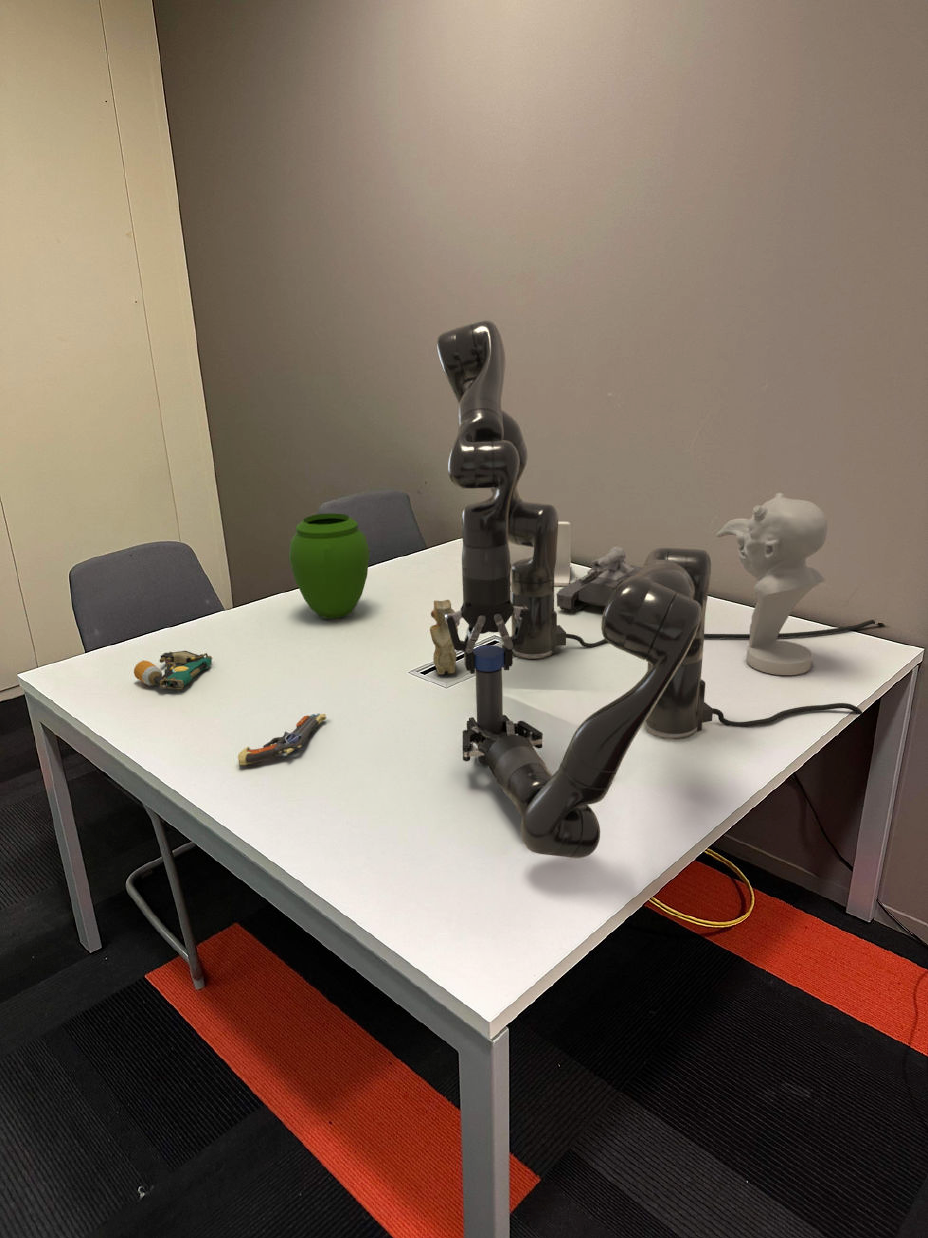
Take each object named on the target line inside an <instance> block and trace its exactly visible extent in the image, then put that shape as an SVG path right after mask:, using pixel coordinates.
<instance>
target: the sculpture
mask: <svg viewBox="0 0 928 1238" xmlns="http://www.w3.org/2000/svg"><path fill="white" fill-rule="evenodd" d="M446 612H450V613H454V612H455V609H453V608H452V602H451V601H450V599H445V600H433V610H431V612H430V617H431V618H432V619H433V620H434V621H435V622H436V623H435V624H433V625H431V626H429V633H430V636H431V640H432V641H431V642H432V643H433V645H434V648H435V649H434V652H433V656H432V657H433V659H432V660H433V665H434V667H435V668H436V671H437V674H438V675H445V674H446V672H447V673H448V674H455V673H456V666H457V665H456V663H457V651H456V650H455V649H454V646H453V644H452V641H451V638H450V634H449V631H448V628H447V624H446V621H445V617H444V614H445V613H446ZM456 628H457V632H458V633H459V627H458V626H457V627H456Z"/></svg>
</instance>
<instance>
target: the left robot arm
mask: <svg viewBox="0 0 928 1238" xmlns="http://www.w3.org/2000/svg"><path fill="white" fill-rule="evenodd" d="M436 351H437V355H438V358H439V362H440V365H441V367H442V370H443V372H444V375H445V377H446V379H447V382H448V384H449V386H450V388H451V390H452V393H453V394H454V397H455V399H456V402H457V403H458V408H457V428H458V429H457V431H458V432H457V436H456V438H455V440H454V443H453V445H452V447H451V450H450V452H449V455H448V460H447V473H448V476H449V479H450V481H451V482H452V484H453V485H455V486H456V487H457V488H458V489H461V490H487V489H488V490H489V489H490V491H491V493H492V495H491V496H490V497H489V498H487V499H484V500H481V501H477V502H473V503H471V504H468V505H466V506H465V507H464V508H463V510H462V513H461V526H462V527H461V528H462V529H461V530H462V550H461V576H462V577H461V578H462V579H461V580H462V606H461V607H460V610H458V611H454V613H450V612H446V613H445V614H444V617H445V621H446V624H447V628H448V631H449V634H450V638H451V641H452V644H453V646H454V649H455V651H456V652H459V651H461V652H463V661H464V662H463V663H464V667H465V669H466V671H467V672H469V674H470V675H474V674H475V675H476V673H475V655H474V651H473V650H474V649H475V646H476V643H477V642H478V640H479V637H480V635H485V634H488V633H494V634H495V633H498V634H499V636H500V638H501V641H502V643H503V644H502V645H501V648H502V649H503V650H504V667H503V668H502V669H503V670H504V671H510V667H512V666H513V664H514V656H515V657H518V658H521V659H525V660H526V659H527V660H540V659H545V658H548V657H550V656H552V655H557V654H558V653H557V650H558V649H557V648H558V647H563V646H567V639H571V640H574V641H577V642H578V643H579V644H580V645H581V646H582V647H584V648H587V649H588V648H589V649H590V648H591V649H593V648H596V647H600V646H602V645H605V644H607V643H608V642H607V641H606V640H605V638H603V639H601V640H599V641H597V642H594V643H593V642H592V643H589V642H585V640H584V639H583V638H582V637H581V636H579V635H578V634H577V635H576V634H572V633H567V632H566V631H565V629H564V628H563V627H562V626H561V625H560V624H558V613H557V612H556V611H555V586H554V571H555V565H556V556H557V538H558V522H559V515H558V511H557V509H556V507H554V506H553V505H552V504H549V503H541V502H531V501H524V500H523V499H522V498H521V497H520V494H519V490H518V484H519V482H520V479H521V478H522V476H523V473H524V471H525V468H526V466H527V462H528V457H529V456H528V450H527V446H526V443H525V440H524V436H523V434H522V430H521V427H520V426H519V424H518V423H517V421H516V419H514V418H513V417H512V416H511V415H509V413H507V412H506V411H505V410H503V409H502V394H503V389H504V382H505V373H506V352H505V351H506V350H505V346H504V343H503V339H502V336H501V333H500V331H499V329H498V327H497V325H496V324H495V322H493V321H491V320H489V319H488V320H487V319H485V320H480V321H475V322H473V323H469V324H466V325H462V326H460V327H456V328H454V329H453V328H452V329H450V330H447V331H445V332H442V333H440V334H439V335H438V337H437V340H436ZM508 541H509V542H510V543H512V544H515V545H520V546H527V547H534V552H533V557H530V558H526V559H522V560H519V561H516V562H515V563H513V565H512V567H511V563H510V551H509V544H508ZM510 570H511V576H510ZM510 618H511V621H510V622H511V636H510V634H509V631H508V629H507V626H506V624H507V623H508V621H509V620H510ZM461 620H464V621H465V622H466V624H467V625H468V626H467V628H466V634H465V637H464V640H461V639H460V635H459V631H458V632H457V628H456V627H458V626H460V624H461V622H460V621H461ZM874 620H875V619H870V620H866V621H864V622H861V623H859V624H854V625H848V626H841V627H836V628H835V627H834V628H828V629H820V630H810V631H798V632H781V633H780V632H779V634H778V636H777V639H781V638H798V637H808V636H809V637H811V636H820V635H821V636H822V635H829V634H836V633H842V632H848V631H854V630H855V631H856V630H859V629H862V628H865V627H868V626H870V625H877V626H879V627H880V628H885V627H886V625H885V624H884V623H883V622H882V623H878V624H875V621H874ZM704 639H750V633H704Z"/></svg>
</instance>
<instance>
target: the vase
mask: <svg viewBox="0 0 928 1238" xmlns="http://www.w3.org/2000/svg"><path fill="white" fill-rule="evenodd" d="M358 524H359V523H358V521H356V520H355V519H353V518H352V517H350V516H349V515H347V514H344V513H335V512H334V513H333V512H331V513H320V514H313V515H310V516H307V517H305V518H303V519H302V520H301V521H300V522H299V523H298V524H297V525H296V526H295V532H296V533H295V534H294V536H293V537H292V538H291V540H290V542H289V551H288V559H289V564H290V566H291V567H290V568H291V570H292V575H293V578H294V581H295V584H296V586H297V587H298V589H299V591H300V593H301V596H302V597H303V600H304V601H305V603H306V604H307V605H308V607H309V608H310V609H311V611H312V612H314V613H315V614H316V615H317V616H318V617H320V618H324V619H326V620H327V619H329V620H336V619H341V618H345V617H347V616H349V615H350V614H351V613H352V612H353V611H354V610H355V608H356V607H357V605H358V604H359V601H360V599H361V597H362V595H363V592H364V588H365V586H366V581H367V578H368V570H369V561H370V560H369V559H370V548H369V545H368V541H367V537H366V535H365V534H364V533H363V532H362V531H361V530H360V529H359V527H358Z"/></svg>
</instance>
